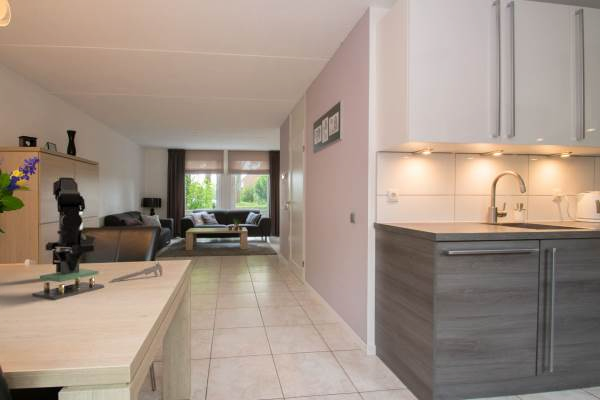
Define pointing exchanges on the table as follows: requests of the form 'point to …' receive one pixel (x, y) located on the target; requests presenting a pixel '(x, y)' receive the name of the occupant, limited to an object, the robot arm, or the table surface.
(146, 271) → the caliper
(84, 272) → the board
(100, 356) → the table surface
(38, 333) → the table surface
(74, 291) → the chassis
